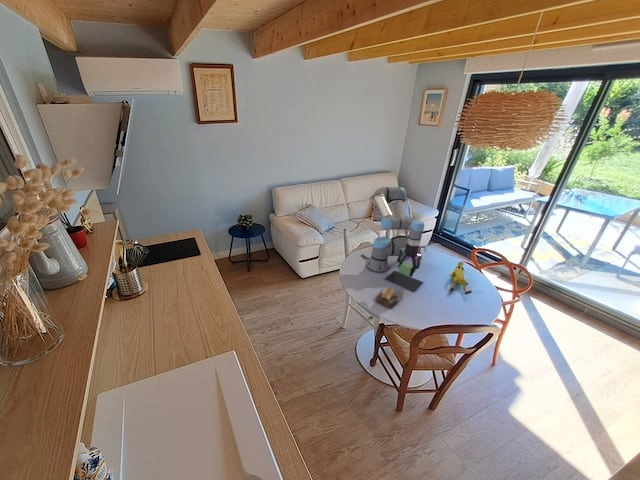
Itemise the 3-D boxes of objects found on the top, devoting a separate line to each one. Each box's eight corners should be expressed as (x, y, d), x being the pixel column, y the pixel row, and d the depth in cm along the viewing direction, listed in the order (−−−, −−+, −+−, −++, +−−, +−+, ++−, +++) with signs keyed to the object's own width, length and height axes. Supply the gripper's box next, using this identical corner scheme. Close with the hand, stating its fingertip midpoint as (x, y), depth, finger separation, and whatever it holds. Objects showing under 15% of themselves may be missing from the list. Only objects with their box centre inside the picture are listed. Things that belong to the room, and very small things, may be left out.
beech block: (381, 296, 176) (382, 290, 173) (385, 292, 179) (386, 287, 176) (389, 300, 173) (390, 294, 170) (393, 296, 176) (394, 290, 173)
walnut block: (376, 301, 178) (377, 296, 176) (383, 295, 183) (384, 290, 181) (389, 308, 172) (390, 302, 170) (396, 301, 178) (397, 296, 176)
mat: (385, 279, 198) (385, 278, 198) (394, 271, 207) (394, 270, 207) (413, 291, 186) (413, 290, 186) (422, 282, 195) (422, 282, 194)
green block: (398, 272, 193) (400, 264, 190) (403, 268, 197) (404, 260, 194) (408, 276, 188) (410, 268, 185) (413, 272, 193) (415, 264, 190)
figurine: (464, 282, 177) (462, 256, 199) (446, 288, 184) (446, 262, 206) (474, 295, 179) (471, 267, 200) (456, 300, 186) (455, 273, 208)
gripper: (395, 241, 186) (389, 270, 197) (426, 251, 174) (417, 282, 185) (400, 237, 191) (394, 266, 202) (431, 247, 178) (422, 277, 189)
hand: (405, 273), depth 193 cm, fingers closed on green block, 7 cm apart
